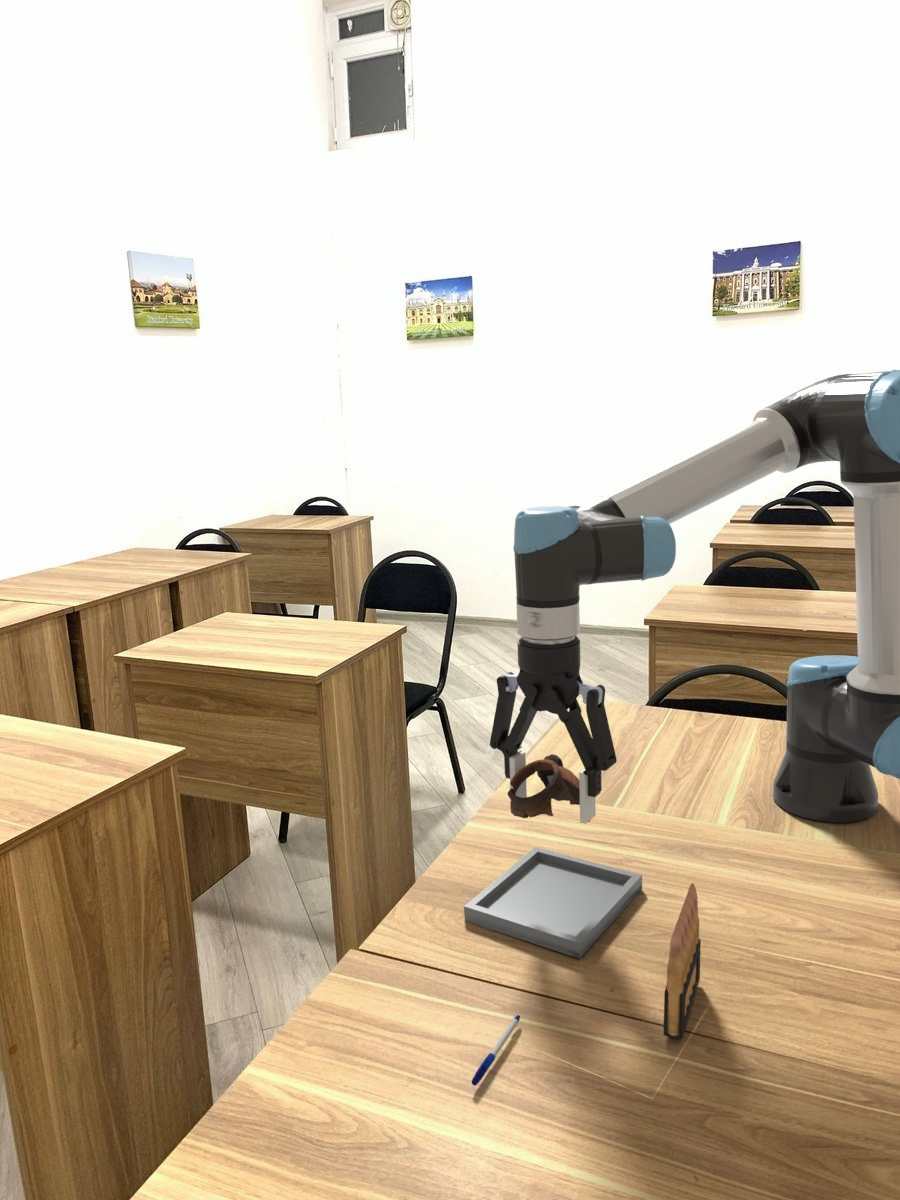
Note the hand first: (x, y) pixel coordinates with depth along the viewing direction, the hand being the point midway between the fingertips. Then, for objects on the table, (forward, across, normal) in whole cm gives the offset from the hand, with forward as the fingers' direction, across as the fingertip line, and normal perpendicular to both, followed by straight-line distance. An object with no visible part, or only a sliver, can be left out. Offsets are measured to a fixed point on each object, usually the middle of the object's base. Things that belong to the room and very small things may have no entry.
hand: (552, 810), depth 115 cm
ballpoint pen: (+13, +8, -27) cm, 31 cm away
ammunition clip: (+13, +21, -11) cm, 27 cm away
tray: (+13, 0, 0) cm, 13 cm away
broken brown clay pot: (+1, 0, 0) cm, 1 cm away
